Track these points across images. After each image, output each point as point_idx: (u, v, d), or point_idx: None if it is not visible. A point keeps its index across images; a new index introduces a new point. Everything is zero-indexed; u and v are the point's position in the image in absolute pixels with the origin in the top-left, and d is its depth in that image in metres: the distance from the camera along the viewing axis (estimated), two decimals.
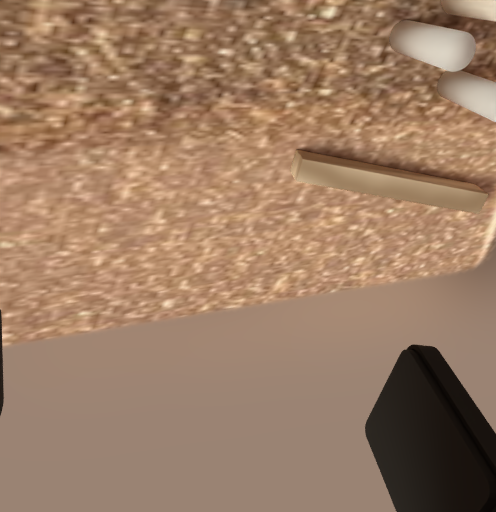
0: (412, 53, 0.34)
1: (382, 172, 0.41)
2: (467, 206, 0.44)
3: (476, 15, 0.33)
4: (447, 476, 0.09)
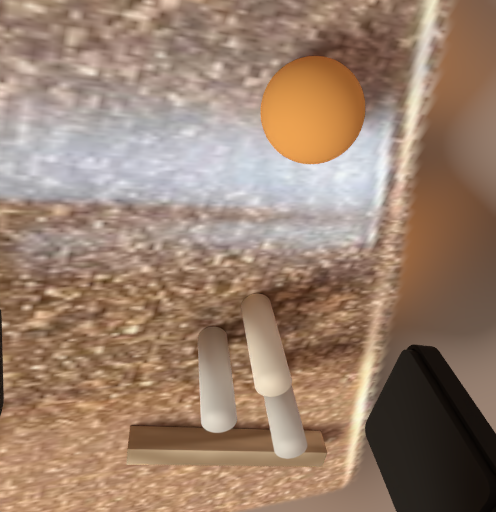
0: None
1: (214, 445, 0.42)
2: (308, 463, 0.44)
3: None
4: (447, 476, 0.09)
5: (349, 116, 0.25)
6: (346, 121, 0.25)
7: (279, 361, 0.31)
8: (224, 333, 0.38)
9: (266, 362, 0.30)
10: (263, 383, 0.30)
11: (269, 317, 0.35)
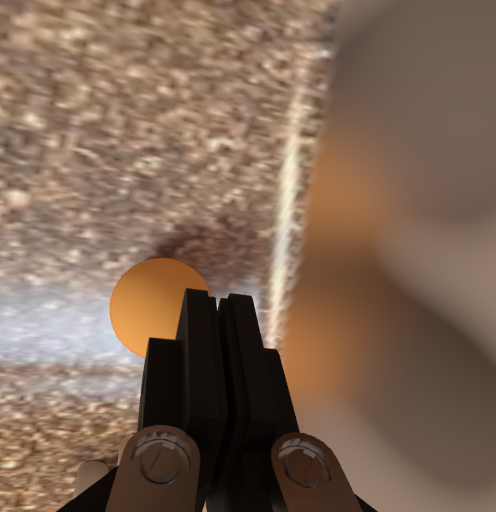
0: None
1: None
2: None
3: None
4: None
5: None
6: None
7: None
8: (104, 467, 0.39)
9: None
10: None
11: None
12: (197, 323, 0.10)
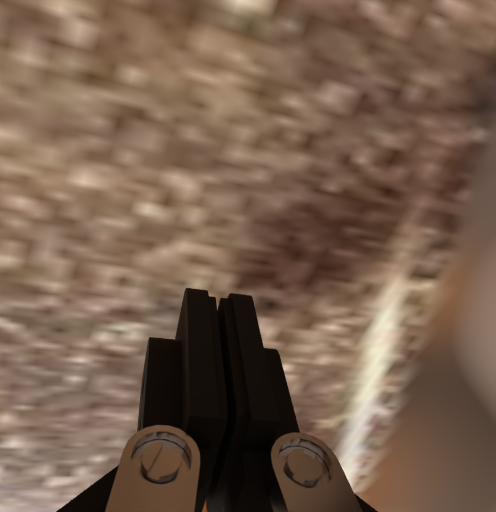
0: None
1: None
2: None
3: None
4: None
5: None
6: None
7: None
8: None
9: None
10: None
11: None
12: (197, 323, 0.10)
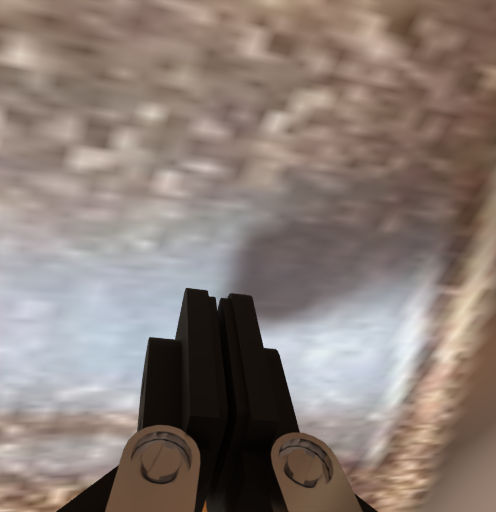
0: None
1: None
2: None
3: None
4: None
5: None
6: None
7: None
8: None
9: None
10: None
11: None
12: (197, 323, 0.10)
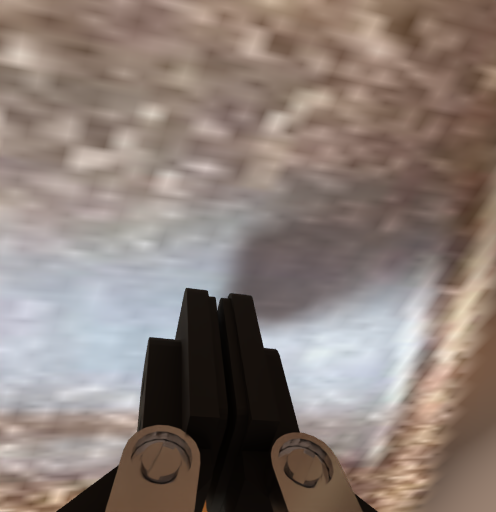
0: None
1: None
2: None
3: None
4: None
5: None
6: None
7: None
8: None
9: None
10: None
11: None
12: (197, 323, 0.10)
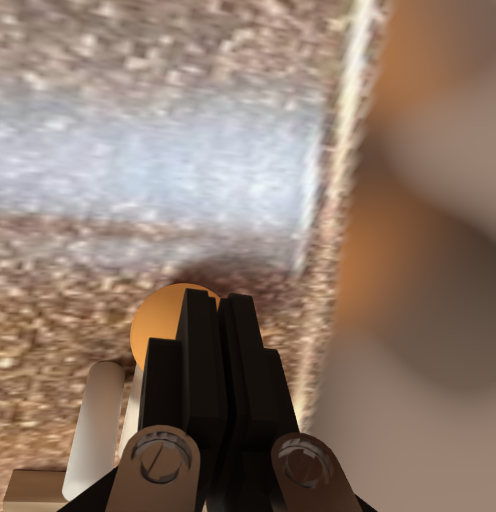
0: None
1: None
2: None
3: None
4: None
5: None
6: None
7: None
8: (120, 370, 0.32)
9: None
10: None
11: None
12: (197, 323, 0.10)
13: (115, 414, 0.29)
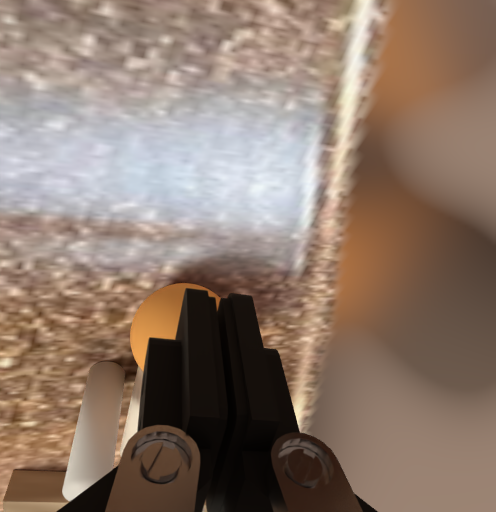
0: None
1: None
2: None
3: None
4: None
5: None
6: None
7: None
8: (120, 370, 0.32)
9: None
10: None
11: None
12: (197, 323, 0.10)
13: (115, 414, 0.29)
